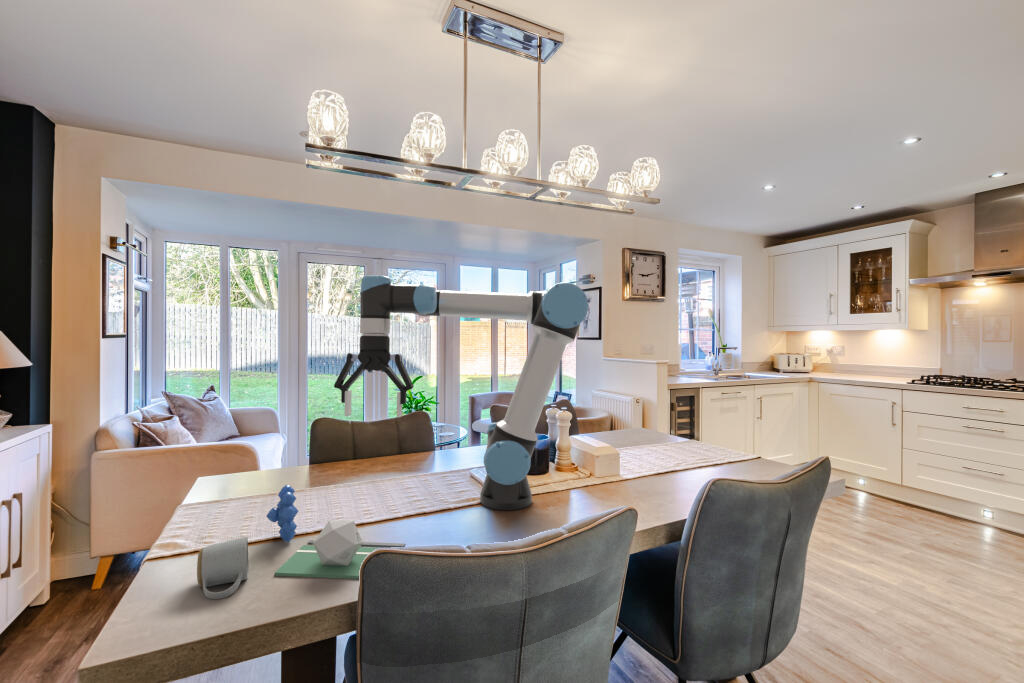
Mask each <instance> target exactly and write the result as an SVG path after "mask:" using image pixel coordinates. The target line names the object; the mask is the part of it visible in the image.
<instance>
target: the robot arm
mask: <svg viewBox="0 0 1024 683" xmlns="http://www.w3.org/2000/svg"><path fill="white" fill-rule="evenodd" d="M360 281H361V282H360V292H359V295H360V307H359V309H360V310H359V311H360V316H359V317H360V319H359V332H360V334H361V335H360V337H359V352H358V353H355V352H348V353H347V354H346V361H345V363H344V365H343V367H342V368H341V371H340V373H339V375H338V376H337V379H336V381H335V382H334V384H333V387H334V388H335V389H338V390H340V391H341V398H340V399H341V403H342V404H344V417H349V416H351V415H352V395H353V394H352V389H350V387H352V386H353V384H354V383H355V382H356V381H357V380H358V379H359V378H360V376H361V375H363V373H364V372H365V371H369V372H370V371H376V372H380V371H383V373H385V374H386V376H388V378H389V379H390V380H391V382H392V383H393V385H395V387H396V388H397V389H398V390H399V391H398V392H396V418H401V417H402V416H403V405H405V404H406V402H407V392H408V391H409V390H410V391H411V390H412V389H414V383H413V382H412V380H411V377H410V375H409V373H408V371H407V368H406V367H405V364H404V362H403V356H402V354H401V353H396V354H391V353H390V349H391V348H390V346H391V345H390V343H391V342H390V340H391V339H390V336H388V335H389V334H390V333H391V327H390V326H391V313H392V314H394V313H395V314H396V313H397V314H414V315H417V316H419V317H420V316H421V317H450V318H452V317H453V318H471V319H472V318H473V319H491V320H512V321H513V320H515V321H526V322H527V323H528V324H530V325H532V329H533V330H534V337H533V339H532V342H531V345H530V348H529V351H528V353H527V356H526V359H525V361H524V363H523V366H522V370H521V371H520V375H519V377H518V380H517V383H516V385H515V388H514V391H513V394H512V397H511V398H510V399H511V400H510V402H509V405H508V406H507V410H506V413H505V416H504V418H503V419H501V420H499V421H497V422H490V423H489V424H488V425H487V431H486V433H487V443H486V449H485V453H484V456H483V464H484V468H485V472H486V475H485V479H484V481H483V485H482V488H481V490H480V493H479V494H480V495H479V501H480V503H481V505H483V506H484V507H486V508H487V509H488V508H489V509H493V510H498V511H516V510H518V511H519V510H522V509H526V508H528V507H529V506H531V505H532V502H533V494H532V490H531V487H530V484H529V479H528V477H527V475H528V474H529V471H530V469H531V464H532V462H531V461H532V459H531V458H532V456H533V454H534V450H535V448H536V445H537V442H538V440H539V439H538V438H539V437H538V435H537V434H536V428H537V427H538V426H537V425H538V422H539V420H540V418H541V414H542V412H543V408H544V406H545V404H546V401H547V398H548V396H549V393H550V390H551V387H552V384H553V382H554V379H555V377H556V374H557V372H558V368H559V366H560V363H561V361H562V357H563V355H564V352H565V349H566V347H567V345H568V344H571V343H572V342H575V339H576V336H577V334H578V331H579V329H580V326H581V324H582V322H584V320H585V318H586V317H587V315H588V310H589V300H588V298H587V295H586V293H585V291H584V290H583V288H582V289H581V287H579V286H578V285H576V284H574V283H572V282H564V281H563V282H557V283H554V284H552V285H550V286H549V287H548V288H547V289H546V290H539V291H536V290H535V291H534V290H531V291H529V292H528V293H527V294H526V293H524V294H523V293H508V292H507V293H505V292H486V291H485V292H483V291H481V292H480V291H463V290H461V291H459V290H442V289H441V290H439V289H436V287H435V286H434V285H432V284H431V285H430V284H425V283H421V284H396V283H395V284H394V283H392V280H391V277H389V276H386V275H377V274H373V275H372V274H367V275H364V276H363V277H361V280H360ZM357 360H358V361H359V362H360V364H359V365H358V367H357V368H356V370H355V371H354V372H353V373H352V374H351V375H350V377H349V378H348V379H347V377H348V375H349V373H350V371H351V369H352V367H353V365H354V362H356V361H357ZM391 360H392V361H393V363H394V364H395V366H396V368H397V370H398V372H399V374H400V376H401V378H402V380H403V381H402V380H401V378H399V376H398V375H397V374H396V372H395V371H394V370H393V369H392V367H391V366H390V365H389V363H390V361H391ZM346 379H347V380H346ZM345 380H346V381H345ZM403 382H404V383H403Z"/></svg>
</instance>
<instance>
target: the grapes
mask: <svg viewBox="0 0 1024 683" xmlns="http://www.w3.org/2000/svg"><path fill="white" fill-rule="evenodd" d="M294 493H295V489H294V488H293V487H292V486H291V485H289V484H286V485H284V486H283V487H282V488H281V490H280V491H279V492H278V495H277V496H278V498H279V499H280V500H279V501H278V503H277V504H276V507H275V506H274V507H272V508H270V510H269V511H268V512H267V514H266V518H267V519H268V520H269V521H270V522H271V523H277V526H279V528H280V529H279V531H278V534H279V537H280V538H281V539H282V540H283V541H284V542H286V543H289V542H291V540H293V539H294V537H295V535H296V534H297V532H296V531H295V530H296V529H297V527H298V525H297V524H296V523H295V522H294V519H295V518H296V516H297V514H298V512H299V509H298V508H297V507H296V506H295V505H294V503H295V501H296V500H297V497H296V496H295V495H294Z"/></svg>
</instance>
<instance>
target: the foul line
mask: <svg viewBox="0 0 1024 683" xmlns="http://www.w3.org/2000/svg"><path fill="white" fill-rule="evenodd" d="M314 541H315V540H314V539H311V540H308V541H307V545H314V544H313V542H314ZM362 542H363V543H362V545H361V546H360V547H381V548H403V547H402V546H404V547H405V546H406V543H403V542H402V543H400V542H399V543H398V542H396V543H395V542H394V543H393V542H376V541H375V542H372V541H371V542H369V541H367V542H366V541H362Z"/></svg>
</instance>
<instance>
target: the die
mask: <svg viewBox="0 0 1024 683" xmlns="http://www.w3.org/2000/svg"><path fill="white" fill-rule="evenodd" d="M363 542H364V541H363V540H362V537H361V535H360V532H359V530H358V527H357V525H356V523H355V520H328V521H327V523H326V524H325V526H324V527H323V529H322V530H321V531H320V532H319V534H318V535H317V537H316V538H315V541H314V542H313V544H312V545H314V547H315V549H316V551H317V554H318V556H319V558H320V561H321V563H322V565H335V566H348V565H349V563H350V562H351V560H352V559H353V557H354V556H355V554H356V553H357V551H358V549H359V548H360V547H362V546H361V545H362V543H363Z"/></svg>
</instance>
